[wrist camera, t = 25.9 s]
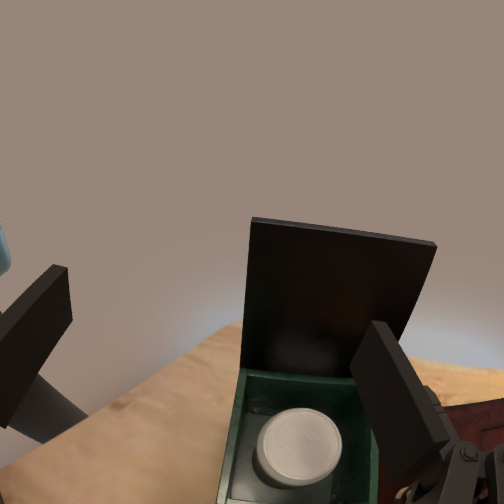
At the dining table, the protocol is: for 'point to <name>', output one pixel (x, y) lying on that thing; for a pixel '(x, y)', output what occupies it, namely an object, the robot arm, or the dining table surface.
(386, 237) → the black flat panel
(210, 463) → the dining table surface
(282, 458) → the beverage can
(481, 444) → the storage box
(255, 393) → the green cube bin
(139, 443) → the dining table surface
